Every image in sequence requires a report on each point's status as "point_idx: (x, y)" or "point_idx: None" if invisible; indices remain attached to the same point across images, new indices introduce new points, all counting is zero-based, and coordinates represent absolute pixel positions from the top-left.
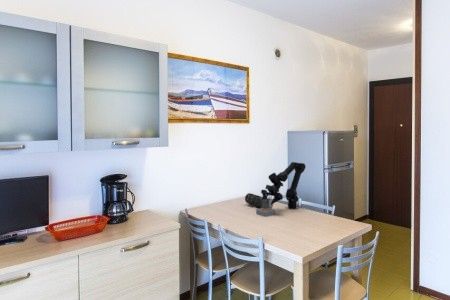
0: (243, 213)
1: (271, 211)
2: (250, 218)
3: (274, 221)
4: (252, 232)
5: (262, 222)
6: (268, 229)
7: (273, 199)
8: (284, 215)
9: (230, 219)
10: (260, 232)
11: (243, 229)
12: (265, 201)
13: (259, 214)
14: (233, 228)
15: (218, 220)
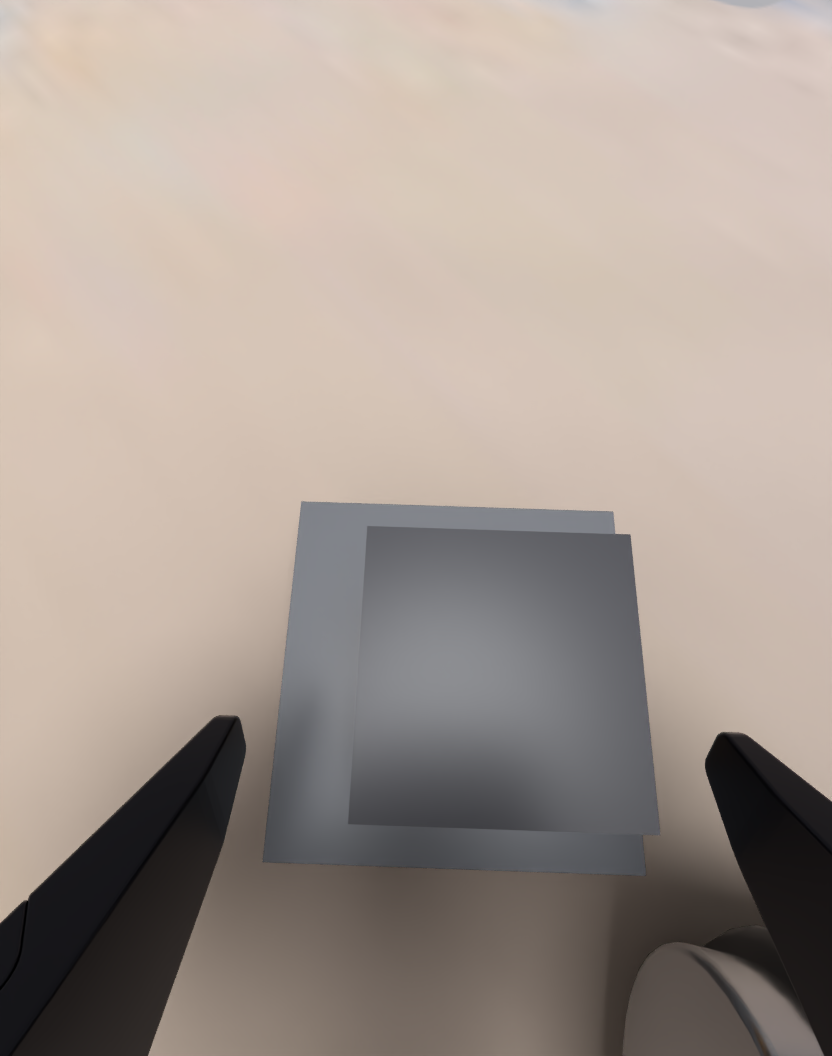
0: (802, 474)
1: (284, 703)
2: (497, 356)
3: (103, 494)
4: (113, 44)
5: (230, 337)
6: (6, 196)
7: (24, 961)
8: None
9: (644, 162)
10: (39, 87)
11: (250, 46)
12: (379, 534)
13: None
14: (354, 10)
15: (699, 63)
